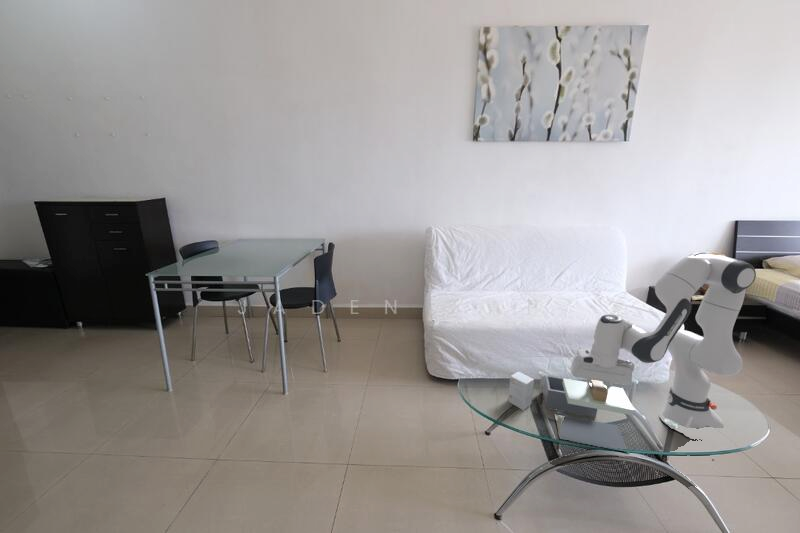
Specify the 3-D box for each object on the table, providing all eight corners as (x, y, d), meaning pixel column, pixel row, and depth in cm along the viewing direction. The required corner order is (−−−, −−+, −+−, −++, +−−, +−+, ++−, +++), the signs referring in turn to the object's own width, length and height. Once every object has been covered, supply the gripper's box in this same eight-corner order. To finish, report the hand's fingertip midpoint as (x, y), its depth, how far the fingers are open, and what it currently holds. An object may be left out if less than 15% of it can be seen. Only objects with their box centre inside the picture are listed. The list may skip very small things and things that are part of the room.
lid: (621, 393, 140) (624, 379, 139) (633, 415, 127) (637, 400, 126) (562, 383, 146) (564, 369, 144) (567, 403, 133) (570, 389, 131)
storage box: (589, 400, 161) (592, 382, 159) (595, 417, 150) (599, 398, 147) (542, 391, 166) (545, 374, 164) (545, 407, 155) (548, 389, 153)
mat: (616, 426, 145) (617, 425, 145) (628, 453, 131) (629, 452, 131) (553, 414, 151) (554, 413, 151) (559, 439, 137) (559, 438, 137)
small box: (531, 404, 157) (534, 379, 153) (523, 410, 153) (526, 384, 149) (515, 395, 163) (518, 370, 159) (507, 401, 159) (510, 375, 155)
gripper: (632, 357, 132) (625, 389, 136) (572, 348, 137) (567, 380, 141) (638, 366, 126) (630, 399, 130) (576, 356, 132) (570, 389, 135)
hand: (597, 389), depth 136 cm, fingers closed on lid, 4 cm apart
